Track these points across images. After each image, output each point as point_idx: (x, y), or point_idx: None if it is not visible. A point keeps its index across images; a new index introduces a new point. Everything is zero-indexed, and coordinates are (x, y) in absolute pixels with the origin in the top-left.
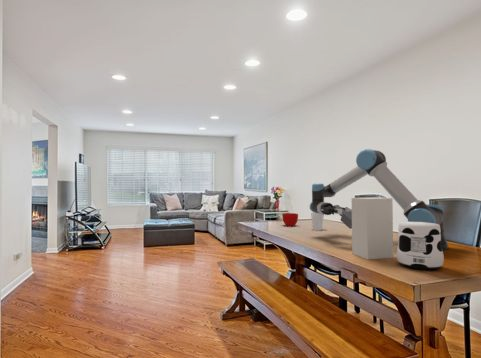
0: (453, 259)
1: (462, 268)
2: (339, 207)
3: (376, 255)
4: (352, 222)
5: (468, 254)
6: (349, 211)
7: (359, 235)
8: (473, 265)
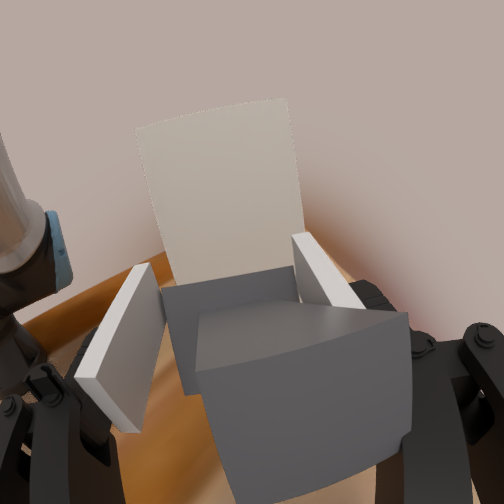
0: (108, 294)
1: (160, 260)
2: (248, 325)
3: None
4: (302, 221)
5: (47, 315)
6: (149, 320)
7: None
8: (127, 270)
